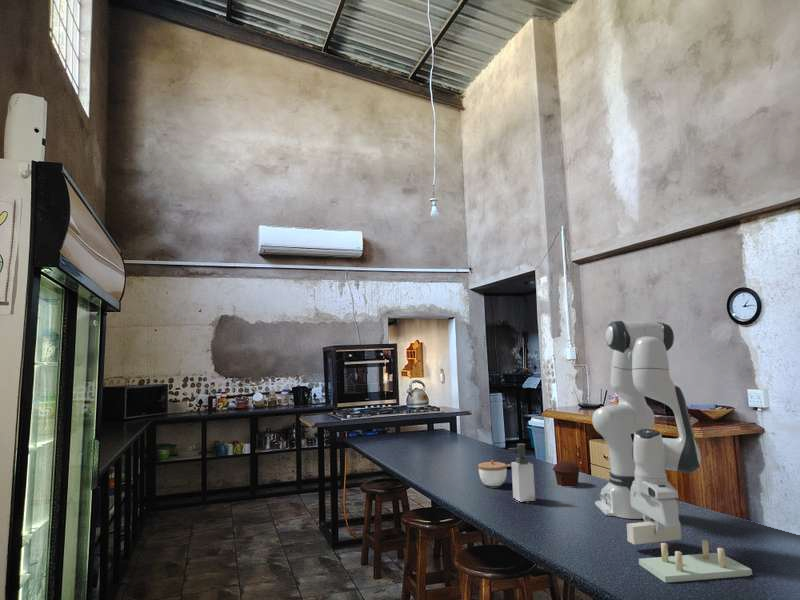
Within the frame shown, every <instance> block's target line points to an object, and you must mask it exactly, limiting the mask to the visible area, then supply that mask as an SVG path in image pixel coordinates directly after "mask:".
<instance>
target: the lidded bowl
mask: <svg viewBox="0 0 800 600" xmlns="http://www.w3.org/2000/svg"><path fill="white" fill-rule="evenodd" d="M477 465H478V466H477V467H478V474H479V478H480V480H481V482H482V483H483V484H484V486H485V485H489V486H500V485H501V486H502V485H503V484H504V483H505V481H506V479H507V473H508V472H507V465H508V464H506V463H504V462H500V461H494V460H493V459H491V460H490V461H486V462H485V461H483V462H480V463H478V464H477ZM501 486H500V487H501Z"/></svg>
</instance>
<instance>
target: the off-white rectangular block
mask: <svg viewBox="0 0 800 600" xmlns="http://www.w3.org/2000/svg"><path fill="white" fill-rule="evenodd" d="M681 526H682V525H681V521H679V523H678V525H677V526H676V527H666V526H664V528H663V535H662V536H657V535H655V533H654V528H656V524H655V520H651V521H648V522H645V521H642V522H632V523H626V535H627V537H626V539H627V542H628V543H630V544H632V545H642V544H644V545H645V544H652V543H659V542H660V543H663V542H668V541H669V542H670V541H677V540H682V527H681Z"/></svg>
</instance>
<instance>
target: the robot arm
mask: <svg viewBox="0 0 800 600" xmlns="http://www.w3.org/2000/svg"><path fill="white" fill-rule="evenodd" d="M674 335H675V334H674V331H673V328H672V327H671V326H670V325H669V324H667V323H664V322H660V321H658V322H654V321H648V320H629V321H628V320H627V321H625V320H624V321H622V320H616V321H612V322H610V323H608V325H607V327H606V331H605V341H606V344H607V346H608V347H609V348H610V349H612V350H613V352H612V359H611V367H610V368H611V369H610V379H609V380H610V381H609V385H610V388H611V390H612V391H614V392H615V393H616V395H617V398H618V403H617V404H608V405H604V406H602V407H599V408H597V409H596V410H594V412H593V413H592V415H591V416H592V417H591V421H592V426H593V428H594V429H595V431H596V432H597V433H598V434H599V435H601V437H602V438H603V440H604V441H605V443H606V446H607V448H608V452H609V461H610V471H608V476H609V477H608V483H607V484H606V485H605V486H604V487H602V488H601V490H600V492H599V498H600V500H596V501H594V504H595V506H596V507H597V508H598V509H599V510H600V511H601V512H602V513H603V514H604V515H605V516H610V517H618V518H623V519H628V520H629V519H630V520H631V519H634V520H640V519H643V522H648V521H655V524H656V528H654V533H655V535H657V536H662V535H663V528H664V526H666V527H676V526H677V525H678V523H679V522H680V519H679V517H680V516H679V505H678V501H677V498H678V497H679V496H678V495H679V494H678V491H677V489H676V488H675V487H674V486H672V485H671V483H670V482H669V480H668V478H667V477H668V475H667V472H666V471H676V472H679V473H686V474H692V473H694V472H696V470H698V469H699V468H700V467H701V462H702V456H701V450H700V449H699V446H698V443H697V441H696V437H695V434H694V429H693V427H692V423H691V422H692V421H691V419H690V414H689V410H688V406H687V402H686V399H685V395H684V394H683V393H684V392H683V391H682V389H681V388H680V387H679V386H678V385H676V384H674V382H673V381H672V378H671V376H670V375H671V374H670V365H669V358H668V352H667V351H669V350H670V349H671V348H672V347H673V344H674V339H675V336H674ZM645 397H646V398H649V399H652V400H654V401H657V402H659V403H662V404H663V405H666V406H667V407H669V408H670V409H671V410H672V412H673V415H674V418H675V420H674V421H675V422H676V427H677V431H678V435H679V436H678V437H677V438H670V437H663V436H662V433H661V432H660V431H659V430H658V429H653V426H654V424H655V421H656V419H655V418H656V417H655V414H654V411H653V410H652V408H651V407H650V406H649V405H648V403H647V401H646V398H645ZM632 435H633V439H632Z"/></svg>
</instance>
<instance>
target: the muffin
mask: <svg viewBox="0 0 800 600" xmlns="http://www.w3.org/2000/svg"><path fill="white" fill-rule="evenodd" d="M552 471H554V475H555V480H556V484H557V486H559V485H561V486H560V487H562V486H575V487H577V485H578V486H579V476H580V471H581V468H580V467H579V465H577V464H576V463H575V462H574V461H571V460H560V461H558V462H557V463H555V464H554V466H553V468H552Z"/></svg>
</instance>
